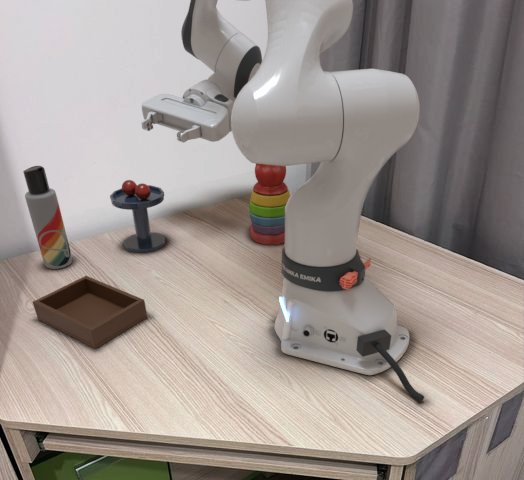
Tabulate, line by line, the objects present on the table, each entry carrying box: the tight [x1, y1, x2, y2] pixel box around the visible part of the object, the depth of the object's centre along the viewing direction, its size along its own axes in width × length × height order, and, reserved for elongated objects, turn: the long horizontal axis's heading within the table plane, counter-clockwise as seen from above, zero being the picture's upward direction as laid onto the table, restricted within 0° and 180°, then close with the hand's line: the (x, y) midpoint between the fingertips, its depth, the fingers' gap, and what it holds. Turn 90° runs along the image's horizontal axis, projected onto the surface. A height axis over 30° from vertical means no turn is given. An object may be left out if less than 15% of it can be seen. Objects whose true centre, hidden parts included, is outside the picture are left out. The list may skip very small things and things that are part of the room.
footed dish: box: [109, 184, 166, 253], centre depth 116 cm, size 11×11×11 cm
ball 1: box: [121, 179, 138, 196], centre depth 114 cm, size 3×3×3 cm
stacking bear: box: [248, 163, 291, 245], centre depth 117 cm, size 11×10×18 cm
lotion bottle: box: [22, 165, 73, 270], centre depth 107 cm, size 6×6×20 cm
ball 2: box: [135, 182, 151, 200], centre depth 112 cm, size 3×3×3 cm
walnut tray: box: [32, 275, 148, 349], centre depth 94 cm, size 16×12×4 cm
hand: (161, 132), depth 111 cm, fingers open, 8 cm apart
